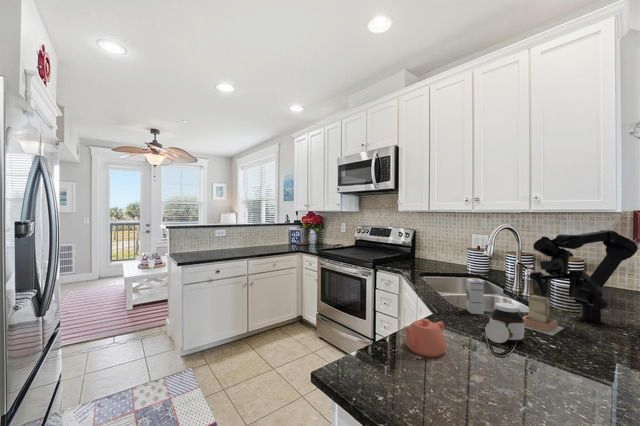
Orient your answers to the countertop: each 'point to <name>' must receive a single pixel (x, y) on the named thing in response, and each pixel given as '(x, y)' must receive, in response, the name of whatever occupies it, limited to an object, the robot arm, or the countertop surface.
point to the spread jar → (505, 324)
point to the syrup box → (474, 296)
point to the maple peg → (539, 309)
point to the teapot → (426, 338)
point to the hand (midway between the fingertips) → (556, 296)
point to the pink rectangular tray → (542, 326)
